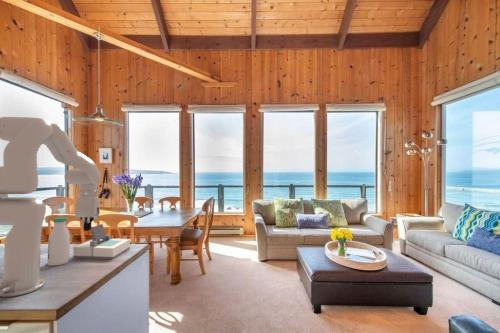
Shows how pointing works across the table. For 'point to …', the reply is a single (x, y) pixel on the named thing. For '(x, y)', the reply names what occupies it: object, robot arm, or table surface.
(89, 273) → the table surface
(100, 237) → the lock flap
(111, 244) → the white boxy piece
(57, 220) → the milk bottle
